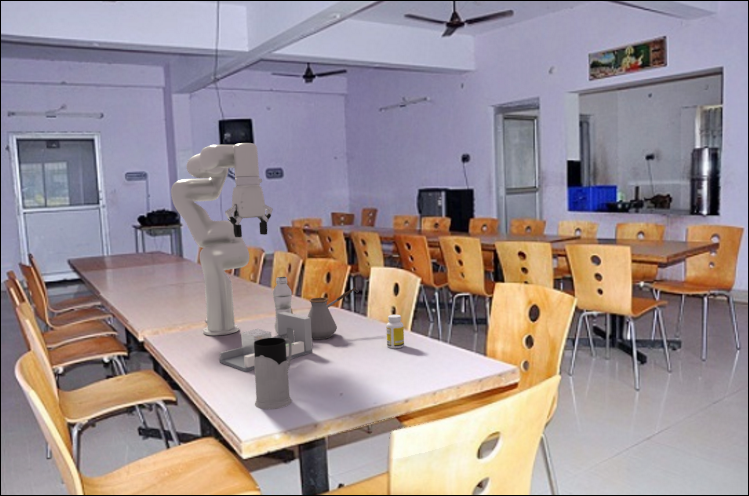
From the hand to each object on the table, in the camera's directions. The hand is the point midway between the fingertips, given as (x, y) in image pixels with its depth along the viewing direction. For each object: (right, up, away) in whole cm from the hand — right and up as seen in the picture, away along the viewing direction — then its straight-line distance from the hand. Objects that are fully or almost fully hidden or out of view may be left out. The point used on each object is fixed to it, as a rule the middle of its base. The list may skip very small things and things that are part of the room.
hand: (251, 235), depth 194 cm
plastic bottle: (+9, -34, +16) cm, 39 cm away
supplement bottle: (+46, -35, -5) cm, 58 cm away
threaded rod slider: (+9, -36, -12) cm, 39 cm away
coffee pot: (+25, -34, +14) cm, 45 cm away
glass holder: (+16, -41, -46) cm, 64 cm away
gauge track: (+7, -37, -11) cm, 40 cm away
